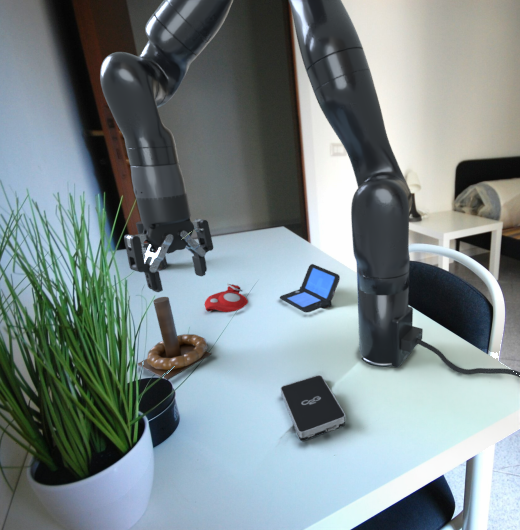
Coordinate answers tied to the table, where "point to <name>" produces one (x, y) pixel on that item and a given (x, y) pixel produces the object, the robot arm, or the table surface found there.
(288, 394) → the external hard drive
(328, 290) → the handheld console
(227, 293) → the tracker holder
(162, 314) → the peg
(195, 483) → the table surface
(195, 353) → the brown lumpy ring
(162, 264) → the deodorant
